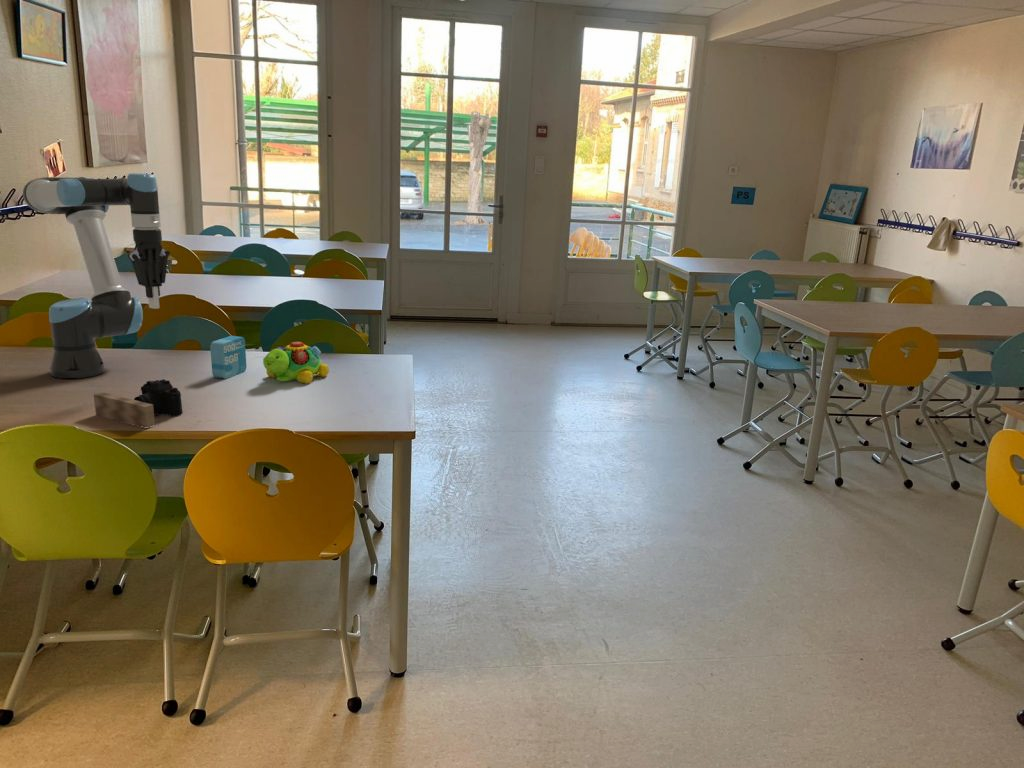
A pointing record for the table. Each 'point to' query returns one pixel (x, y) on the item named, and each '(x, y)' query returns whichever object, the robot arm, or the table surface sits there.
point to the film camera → (161, 397)
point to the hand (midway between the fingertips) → (154, 307)
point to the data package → (228, 356)
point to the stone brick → (124, 409)
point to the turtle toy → (295, 363)
